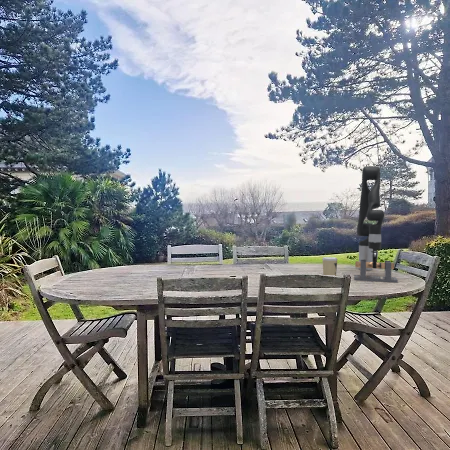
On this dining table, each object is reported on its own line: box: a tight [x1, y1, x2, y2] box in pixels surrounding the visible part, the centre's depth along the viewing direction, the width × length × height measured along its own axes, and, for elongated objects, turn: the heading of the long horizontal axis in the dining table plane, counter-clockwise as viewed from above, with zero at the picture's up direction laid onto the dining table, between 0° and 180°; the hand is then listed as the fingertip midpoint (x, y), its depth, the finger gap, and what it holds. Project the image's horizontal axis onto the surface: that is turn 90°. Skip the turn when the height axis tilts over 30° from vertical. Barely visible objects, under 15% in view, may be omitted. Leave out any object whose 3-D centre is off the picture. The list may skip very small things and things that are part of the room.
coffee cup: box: [321, 256, 338, 277], centre depth 242 cm, size 9×9×12 cm
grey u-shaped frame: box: [353, 260, 399, 284], centre depth 230 cm, size 10×24×12 cm, turn 70°
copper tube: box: [354, 260, 395, 270], centre depth 243 cm, size 23×4×4 cm, turn 70°
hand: (374, 267), depth 243 cm, fingers closed on copper tube, 4 cm apart
